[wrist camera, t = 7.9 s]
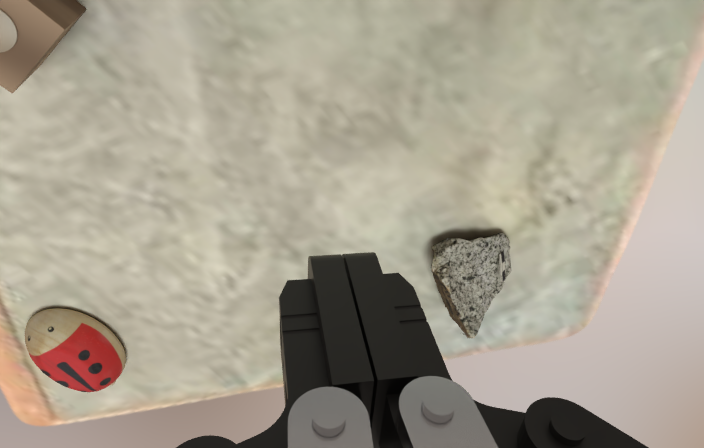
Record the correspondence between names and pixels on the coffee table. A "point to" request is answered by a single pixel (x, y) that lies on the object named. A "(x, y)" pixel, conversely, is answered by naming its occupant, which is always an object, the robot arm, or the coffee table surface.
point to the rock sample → (470, 276)
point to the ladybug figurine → (74, 349)
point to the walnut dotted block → (31, 35)
